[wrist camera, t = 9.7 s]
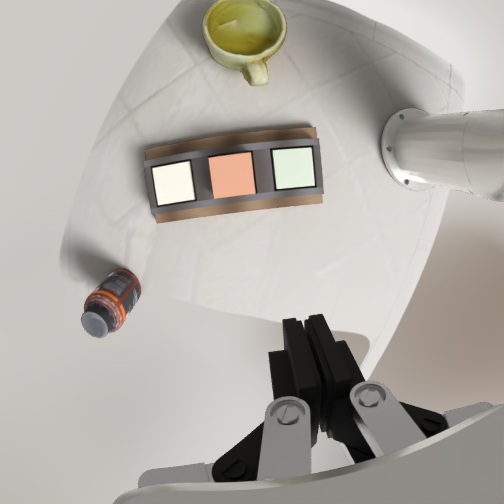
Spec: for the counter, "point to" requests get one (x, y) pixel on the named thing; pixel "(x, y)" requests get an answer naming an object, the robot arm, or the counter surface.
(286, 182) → the key sage
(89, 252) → the counter surface
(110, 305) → the supplement bottle
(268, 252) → the counter surface
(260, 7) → the mug
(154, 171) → the key cream
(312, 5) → the counter surface
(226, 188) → the key terracotta
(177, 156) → the key panel
